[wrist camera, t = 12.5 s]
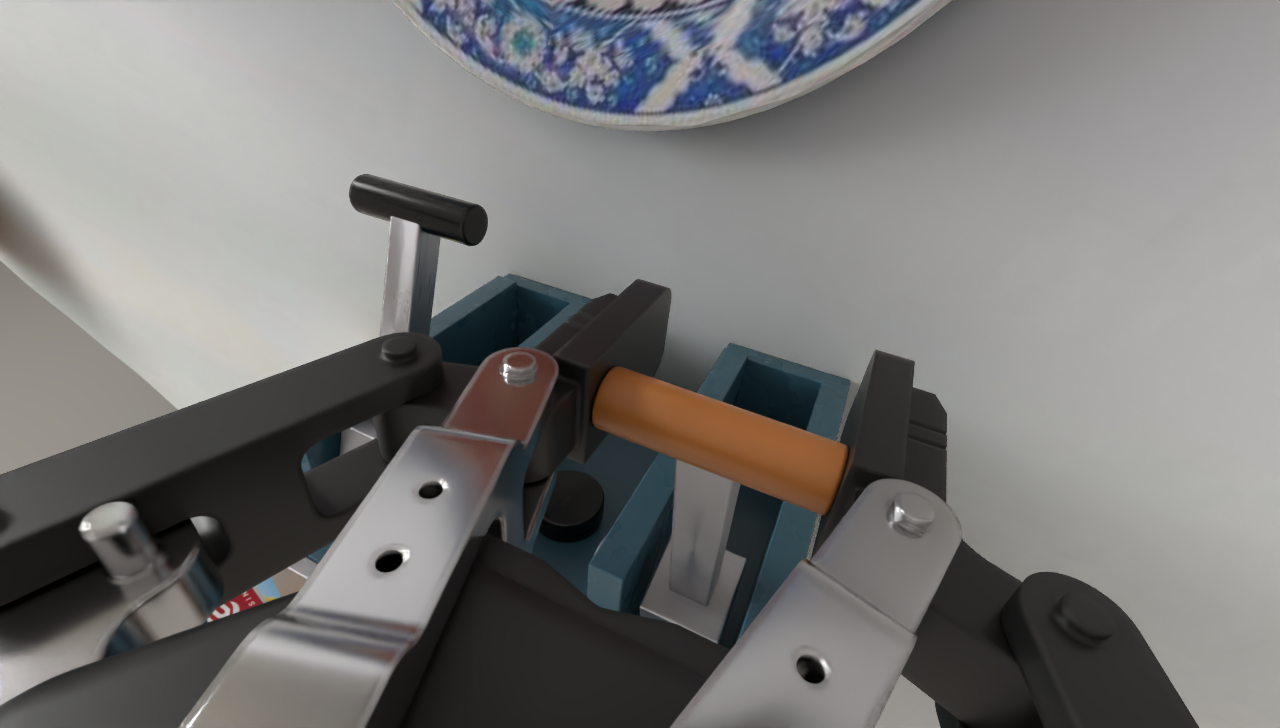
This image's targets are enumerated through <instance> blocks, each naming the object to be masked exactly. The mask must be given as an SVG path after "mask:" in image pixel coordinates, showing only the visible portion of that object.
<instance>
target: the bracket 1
mask: <svg viewBox="0 0 1280 728" xmlns="http://www.w3.org/2000/svg"><path fill="white" fill-rule="evenodd" d="M590 300H592V299H589V298H586V297H582V296H579V295H576V294H573V293H570V292H567V291H563V290H560V289H557V288H554V287H551V286H547V285H544V284H541V283H538V282H535V281H532V280H528V279H525V278H522V277H519V276H516V275H512V274H508V275H506V276H504V277H500V276H498V277H496V278H495V279H493V280H492V281H490V282H488V283H487V284H485V285H484V286H482V287H480V288H479V289H477V290H476V291H474V292H473V293H471V294H469V295H468V296H466V297H465V298H463V299H461V300H460V301H458V302H457V303H455V304H454V305H452V306H450V307H449V308H447V309H446V310H444V311H442V312H441V313H439V314H438V315H436V316H434V317H433V318H431V323H430V331H429V336H430V337H432V338H434V339H435V340H436V341H437V342H438V343H439V344H440V347H441V353H442V361H443V362H451V363H459V364H467V365H475V366H480V365H481V363H482V362H483V361H484V360H485V359H486V358H487V357H488V356H489V355H491V354H493V353H495V352H497V351H500V350H503V349H507V348H514V347H527V348H534V347H536V346H537V345H538V344H539V343H540V342H542V341H543V340H544V339H545V338H546V337H547V336H549V335H550V334H551V333H552V332H553V331H555V330H556V329H557V328H558V327H559V326H560V325H562V324H563V323H564V322H567V320H568V319H569V318H570V317H571V316H572V315H573V314H575V313H576V314H577V312H578V310H579V309H581V308H582V307H583V306H584V305H585V304H586V303H588V302H589V301H590ZM340 443H341V432H339V433H337V434H335V435H333V436H330V437H328V438H326V439H324V440H322V441H320V442H318V443H316V444H315V445H313V446H312V447H311V448H310V449H309V450H308V451H307V452H306V453H305V455H304V457H303V459H302V463H301V467H302V470H303V473H304V472H307V471H309V470H311V469H313V468H315V467H317V466H319V465H321V464H324V463H326V462H328V461H330V460H332V459H334V458H336V457H338V456H340Z"/></svg>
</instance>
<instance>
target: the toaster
mask: <svg viewBox="0 0 1280 728" xmlns="http://www.w3.org/2000/svg"><path fill="white" fill-rule="evenodd" d="M658 453H659V452H657V451H654V450H651V449H649V448H646V447H644V446H641V445H638V444H636V443H633V442H631V441H628V440H626V439H623V438H620V437H618V436H615V435H613V434H610V433H608V435H607V436H606V437H605V439H604V440H603V441H602V442H601V444H600V445H599V446H598V448H597V449H596V450H595V451H594V453H593V454H592V455H591V456H590V458H589V459H588V460H587V462H586V463H585V464H584V465H583V464H581V463H578V462H576V461H573V460H571V459H569V458H565V459H564V461H563V462H562V463H561V464H560V465H559V467H558V468H557V480H556V484H555V487H554V489H553V492H552V495H551V498H550V501H549V503H548V506H547V509H546V512H545V515H544V518H543V520H542V523H541V526H540V529H539V532H538V534H537V537H536V540H535V543H534V546H533V549H532V551H531V554H532V555H534V556H536V557H538V558H540V559H543V560H545V561H546V562H547V563H548V564H549V565H551V566H552V567H553V568H554V569H555V570H556V571H557V572H559V573H560V574H561V575H562V576H563V577H564V578H566V579H567V580H568V581H569V582H570V583H571V584H573V585H574V586H575V587H576V588H577V589H578V590H579V591H581V592H582V593H583V594H584V595H585V596H586V597H587V582H588V567H589V563H590V561H591V560H592V558H593V556H594V554H595V552H596V550H597V548H598V546H599V544H600V542H601V541H602V540H603V538H604V537H605V536H606V535H607V534H608V533H609V531H610V529H611V528H612V526H613V525H614V523H615V522H616V520H617V518H618V517H619V515H620V514H621V512H622V510H623V509H624V507H625V506H626V504H627V503H628V501H629V499H630V498H631V496H632V495H633V493H634V491H635V490H636V488H637V487H638V485H639V484H640V482H641V480H642V479H643V477H644V476H645V474H646V472H647V471H648V469H649V468H650V466H651V464H652V463H653V461H654V460H655V458H656V457H657V455H658ZM781 501H782V500H780V499H778V498H775V497H773V496H770V495H767V494H765V493H762V492H760V491H757V490H755V489H752V488H749V487H747V486H744V485H742V484H740V488H739V493H738V497H737V501H736V506H735V510H734V514H733V519H732V523H731V528H730V532H729V536H728V541H727V545H726V549H725V550H727V551H730V552H732V553H734V554H737V555H739V556H742V557H744V558H746V559H747V564H746V567H745V570H744V573H743V576H742V580H741V583H740V586H739V589H738V592H737V595H736V598H735V601H734V604H733V607H732V610H731V612H730V615H729V618H728V621H727V624H726V627H725V630H724V632H723V635H722V638H721V641H720V644H719V645H721V646H724V647H726V648H728V649H730V650H731V649H732V647H733V646H734V643H735V640H736V637H737V634H738V631H739V628H740V625H741V622H742V619H743V616H744V613H745V610H746V607H747V604H748V601H749V598H750V594H751V591H752V588H753V585H754V582H755V579H756V576H757V573H758V570H759V567H760V564H761V561H762V558H763V555H764V552H765V549H766V546H767V543H768V540H769V537H770V534H771V531H772V528H773V525H774V522H775V519H776V516H777V513H778V510H779V507H780V504H781ZM333 542H334V541H333ZM333 542H331V543H330V544H328V545H326V546H325V547H323V548H321V549H319V550H318V551H316V552H314V553H312V554H311V555H309V556H307V557H305V558H304V559H302V560H300V561H298V562H297V563H295V564H293V565H291V566H290V567H288V568H286V569H284V570H283V571H281V572H279V573H277V574H276V575H274V576H272V579H273V581H274V583H275V585H276V587H277V590H278V592H279V594H280V596H281V597H283V596H286V595H289V594H292V593H294V592H297V591H299V590H300V589H301V588H302V586H303V585H304V583H305V582H306V581H307V579H308V578H309V576H310V575H311V573H312V572H313V571H314V569H315V568H316V566H317V565H318V564H319V562H320V561H321V559H322V558H323V556H324V555H325V554H326V552H327V551H328V549H329V548H330V547H331V545H332V544H333ZM639 616H640V614H639Z"/></svg>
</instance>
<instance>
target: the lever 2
mask: <svg viewBox="0 0 1280 728" xmlns="http://www.w3.org/2000/svg"><path fill="white" fill-rule="evenodd" d="M592 422H593V425H594V426H595V427H596V428H597V429H600V430H602V431H605V432H608V433H610V434H613V435H615V436H618V437H620V438H623V439H626V440H628V441H631V442H633V443H636V444H638V445H641V446H644V447H646V448H649V449H651V450H654V451H657V452H659V453H662V454H664V455H667V456H669V457H672V458H675V476H674V498H673V521H672V533H671V535H670V538H669V540H668V542H667V544H666V547H665V549H664V551H663V553H662V555H661V558H660V560H659V562H658V564H657V567H656V569H655V571H654V573H653V575H652V578H651V580H650V582H649V584H648V587H647V589H646V591H645V593H644V595H643V598H642V600H641V602H640V604H639V609H640V616H642V617H647V618H652V619H656V620H661V621H666V622H671V623H675V624H678V625H680V626H682V627H684V628H686V629H688V630H690V631H692V632H694V633H696V634H699V635H701V636H703V637H705V638H707V639H709V640H711V641H713V642H715V643H717V644H720V641H721V638H722V635H723V632H724V630H725V627H726V624H727V621H728V618H729V615H730V612H731V610H732V607H733V604H734V601H735V598H736V595H737V592H738V589H739V586H740V583H741V580H742V576H743V573H744V570H745V567H746V564H747V559H746V558H744V557H742V556H739V555H737V554H734V553H732V552H730V551H727V550H725V549H726V545H727V541H728V536H729V532H730V528H731V523H732V519H733V514H734V510H735V506H736V501H737V497H738V493H739V488H740V484H742V485H744V486H747V487H749V488H752V489H755V490H757V491H760V492H762V493H765V494H767V495H770V496H773V497H775V498H778V499H780V500H783V501H786V502H788V503H791V504H793V505H796V506H798V507H801V508H804V509H806V510H809V511H811V512H814V513H816V514H819V515H827V513H828V512H829V511H830V509H831V507H832V505H833V502H834V500H835V497H836V495H837V492H838V489H839V486H840V483H841V480H842V477H843V474H844V471H845V467H846V464H847V460H848V455H849V447H848V446H847V445H845V444H842V443H840V442H837V441H834V440H831V439H828V438H825V437H822V436H819V435H817V434H814V433H811V432H808V431H805V430H802V429H799V428H796V427H793V426H791V425H788V424H785V423H782V422H779V421H776V420H773V419H770V418H768V417H765V416H762V415H759V414H756V413H753V412H750V411H747V410H745V409H742V408H739V407H736V406H733V405H730V404H727V403H724V402H722V401H719V400H716V399H713V398H710V397H707V396H704V395H701V394H698V393H696V392H693V391H690V390H687V389H684V388H681V387H678V386H675V385H673V384H670V383H667V382H664V381H661V380H658V379H655V378H652V377H650V376H647V375H644V374H641V373H638V372H635V371H632V370H629V369H627V368H624V367H621V366H616V367H613V368H612V369H611V370H610V371H609V372H608V373H607V374H606V376H605V377H604V379H603V381H602V382H601V384H600V386H599V389H598V391H597V394H596V397H595V400H594V404H593V409H592Z"/></svg>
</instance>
